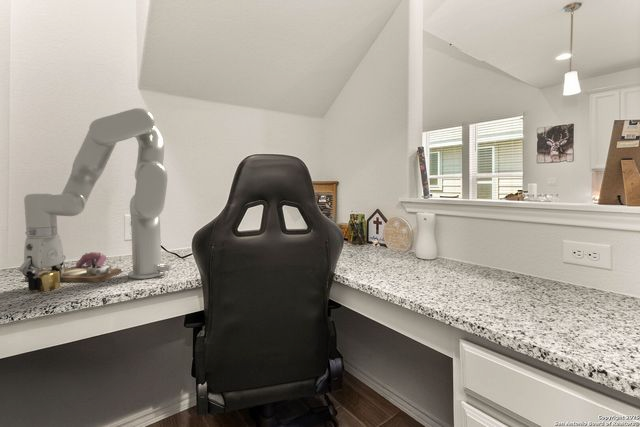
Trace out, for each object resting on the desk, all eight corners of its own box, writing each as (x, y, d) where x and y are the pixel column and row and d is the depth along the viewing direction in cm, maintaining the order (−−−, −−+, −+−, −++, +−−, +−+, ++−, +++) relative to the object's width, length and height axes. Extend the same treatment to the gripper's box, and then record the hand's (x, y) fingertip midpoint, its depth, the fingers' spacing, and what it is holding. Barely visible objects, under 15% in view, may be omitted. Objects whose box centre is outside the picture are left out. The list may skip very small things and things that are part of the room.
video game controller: (104, 270, 131) (109, 253, 133) (96, 268, 127) (102, 251, 129) (82, 269, 132) (88, 253, 134) (73, 267, 127) (79, 250, 130)
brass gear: (65, 284, 107) (65, 270, 107) (47, 292, 100) (46, 276, 99) (44, 284, 107) (43, 269, 107) (24, 291, 100) (23, 275, 99)
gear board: (121, 272, 122) (120, 256, 122) (100, 282, 111) (99, 263, 110) (53, 271, 122) (52, 255, 122) (25, 281, 110) (23, 262, 110)
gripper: (29, 236, 93) (33, 295, 95) (74, 228, 110) (77, 278, 112) (3, 236, 93) (8, 295, 95) (52, 228, 110) (55, 278, 112)
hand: (45, 285), depth 103 cm, fingers closed on brass gear, 7 cm apart
